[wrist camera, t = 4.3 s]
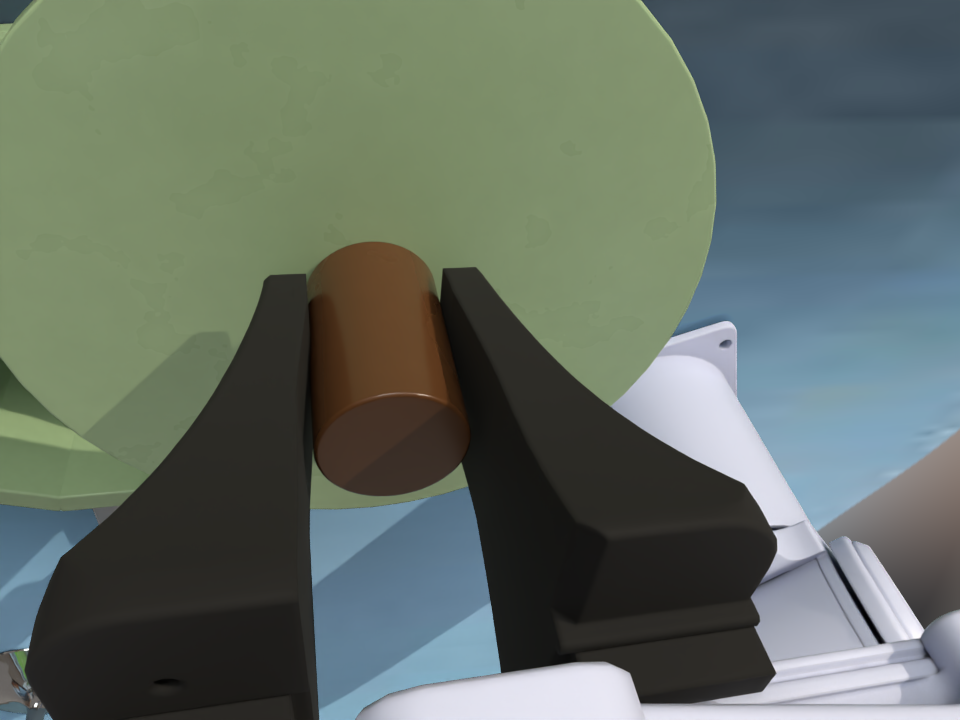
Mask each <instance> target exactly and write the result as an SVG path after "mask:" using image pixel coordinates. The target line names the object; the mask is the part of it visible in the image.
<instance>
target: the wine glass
mask: <svg viewBox="0 0 960 720" xmlns="http://www.w3.org/2000/svg"><path fill="white" fill-rule="evenodd" d="M28 651H29V649H21V650H14V651H9V652H4V653H1V654H0V710H1V711H7V712H14V713H26V720H44V716H45V713H48V712H47V710H46V709H45V707H44V706H43V704H42V703H41V701H40V700H39V698H38V697H37V695H36V694H35V692H34V691H33V689H32V688H31V686H30V685H29V683H28V680H27V677H26V674H25V671H24V669H25V665H26V660H27V655H28Z"/></svg>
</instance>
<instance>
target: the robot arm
mask: <svg viewBox="0 0 960 720" xmlns="http://www.w3.org/2000/svg"><path fill="white" fill-rule="evenodd" d="M440 306H441V310H442V314H443V318H444V322H445V326H446V330H447V334H448V338H449V343H450V347H451V351H452V355H453V359H454V363H455V367H456V371H457V375H458V379H459V384H460V388H461V392H462V396H463V400H464V404H465V408H466V412H467V416H468V420H469V425H470V430H471V441H470V446H469V449H468V451H467V454H466V456H465V457H464V459H463V461H462V462H461V463H462V466H463V470H464V473H465V477H466V480H467V484H468V487H469V490H470V494H471V497H472V502H473V506H474V510H475V514H476V518H477V524H478V529H479V535H480V541H481V546H482V552H483V558H484V564H485V570H486V576H487V582H488V588H489V594H490V600H491V606H492V613H493V620H494V626H495V633H496V640H497V647H498V653H499V660H500V667H501V673H500V674H493V675H486V676H480V677H473V678H466V679H459V680H453V681H446V682H439V683H433V684H426V685H420V686H417V687H413V688H409V689H405V690H402V691H398V692H394V693H390V694H388V695H386V696H384V697H382V698H381V699H379V700H377V701H375V702H374V703H372V704H370V705H368V706H367V707H365V708H364V709H363V710H362V711H361V712H360V713H359V714H358V716H357V718H356V719H355V720H960V610H956V611H952V612H949V613H947V614H945V615H942V616H940V617H938V618H937V619H936V620H934V621H933V622H932V623H931V624H930V625H929V626H928V627H927V628H926V629H925V630H924V629H923V628H922V626H921V624H920V623H919V621H918V620H917V618H916V616H915V615H914V613H913V612H912V610H911V609H910V607H909V606H908V604H907V602H906V601H905V599H904V598H903V596H902V595H901V594H900V592H899V590H898V589H897V587H896V586H895V584H894V583H893V581H892V579H891V578H890V576H889V575H888V573H887V572H886V570H885V569H884V567H883V566H882V564H881V563H880V561H879V560H878V558H877V557H876V555H875V554H874V552H873V551H872V549H871V548H870V547H869V546H868V545H866V544H862V543H859V542H856V541H854V542H851V540H850V539H849V538H848V537H845V536H843V537H840V538H838V539H836V540H834V541H832V542H830V543H829V545H830V547H831V550H832V551H831V550H830V548H829V547H828V546H827V544H826V543H825V542H824V540H823V539H822V538H821V537H820V535H819V534H818V533H817V531H816V530H815V529H814V528H813V526H812V525H811V523H810V521H809V519H808V518H807V516H806V514H805V513H804V511H803V509H802V508H801V506H800V504H799V503H798V501H797V499H796V497H795V496H794V494H793V492H792V491H791V489H790V487H789V486H788V484H787V482H786V481H785V479H784V477H783V475H782V474H781V472H780V470H779V469H778V467H777V465H776V464H775V462H774V460H773V458H772V457H771V455H770V453H769V452H768V450H767V448H766V447H765V445H764V443H763V442H762V440H761V438H760V436H759V435H758V433H757V431H756V430H755V428H754V426H753V425H752V423H751V421H750V419H749V418H748V416H747V414H746V413H745V411H744V409H743V408H742V406H741V404H740V403H739V401H738V399H737V331H736V328H735V327H734V325H733V324H732V323H731V322H729V321H723V322H719V323H716V324H713V325H710V326H706V327H703V328H700V329H697V330H694V331H690V332H687V333H684V334H681V335H678V336H675V337H671V338H670V340H669V341H668V342H667V344H666V345H665V346H664V348H663V349H662V350H661V352H660V353H659V355H658V356H657V357H656V359H655V360H654V361H653V363H652V364H651V365H650V367H649V368H648V369H647V370H646V371H645V372H644V373H643V374H642V376H641V377H640V378H639V379H638V380H637V381H636V382H635V383H634V384H633V385H632V386H631V387H630V389H629V390H628V391H627V392H626V393H625V394H624V395H623V396H622V397H620V398H619V399H618V400H617V401H616V402H615V403H614V404H613V405H611V406H609V405H608V404H606V403H605V402H604V401H602V400H601V399H600V398H599V397H597V396H596V395H595V394H594V393H592V392H591V391H590V390H589V389H588V388H586V387H585V386H584V385H583V384H581V383H580V382H579V381H578V380H577V379H576V378H575V377H574V376H573V375H571V374H570V373H569V372H568V371H567V370H566V369H565V368H564V367H563V366H562V365H561V364H560V363H559V362H558V361H557V360H556V359H555V358H554V357H553V356H552V355H551V354H550V353H549V352H548V351H547V350H546V349H545V348H544V347H543V346H542V345H541V344H540V343H539V342H538V340H537V339H536V338H535V337H534V336H533V335H532V334H531V333H530V332H529V330H528V329H527V328H526V327H525V326H524V325H523V324H522V323H521V322H520V320H519V319H518V318H517V317H516V316H515V314H514V313H513V312H512V311H511V310H510V308H509V307H508V306H507V305H506V304H505V302H504V301H503V300H502V299H501V297H500V296H499V295H498V294H497V292H496V291H495V290H494V288H493V287H492V286H491V285H490V283H489V282H488V281H487V279H486V278H485V277H484V275H483V274H482V273H481V272H480V271H479V270H478V269H477V268H476V267H464V268H443V270H442V283H441V296H440ZM723 341H724V342H723ZM721 342H722V343H721ZM309 363H310V329H309V311H308V295H307V281H306V274H281V275H269V276H268V277H267V278H266V279H265V280H264V282H263V287H262V291H261V295H260V298H259V301H258V304H257V307H256V309H255V312H254V315H253V317H252V320H251V322H250V324H249V327H248V329H247V331H246V333H245V335H244V337H243V339H242V342H241V344H240V346H239V348H238V350H237V352H236V354H235V356H234V358H233V360H232V362H231V363H230V365H229V367H228V369H227V370H226V372H225V374H224V376H223V377H222V379H221V381H220V383H219V384H218V386H217V388H216V389H215V391H214V393H213V394H212V396H211V397H210V399H209V400H208V402H207V404H206V405H205V406H204V408H203V409H202V411H201V412H200V414H199V415H198V417H197V418H196V419H195V421H194V422H193V424H192V425H191V426H190V428H189V429H188V430H187V432H186V433H185V434H184V435H183V437H182V438H181V439H180V440H179V442H178V443H177V444H176V445H175V447H174V448H173V449H172V450H171V452H170V453H169V454H168V455H167V457H166V458H165V459H164V460H163V461H162V462H161V463H160V465H159V466H158V467H157V468H156V469H155V470H154V471H153V472H152V474H151V475H150V476H149V477H148V478H147V479H146V480H145V481H144V482H143V483H142V484H141V485H140V486H139V487H138V488H137V489H136V490H135V491H134V492H133V493H132V494H131V495H130V496H129V497H128V498H127V499H126V500H125V501H124V502H123V503H122V504H121V505H120V506H119V507H118V508H117V509H116V510H115V511H114V512H113V513H112V514H111V515H110V516H109V517H108V518H107V519H105V520H104V521H103V522H102V523H101V524H100V525H98V526H97V527H96V528H95V529H94V530H93V531H91V532H90V533H89V534H88V535H87V536H86V537H84V538H83V539H82V540H81V541H80V542H79V543H78V544H76V545H75V546H74V547H73V548H72V549H71V550H69V551H68V552H67V553H66V554H64V555H63V556H62V557H61V558H60V560H59V562H58V564H57V566H56V569H55V571H54V573H53V575H52V577H51V580H50V582H49V584H48V587H47V589H46V592H45V594H44V597H43V600H42V602H41V605H40V607H39V610H38V613H37V616H36V620H35V624H34V628H33V632H32V637H31V642H30V646H29V651H28V655H27V660H26V665H25V669H24V671H25V674H26V677H27V680H28V683H29V685H30V686H31V688H32V689H33V691H34V692H35V694H36V695H37V697H38V698H39V700H40V701H41V703H42V704H43V706H44V707H45V709H46V710H47V712H48V713H49V715H50V716H51V718H52V719H53V720H319V709H318V691H317V672H316V653H315V634H314V615H313V595H312V575H311V555H310V497H311V478H312V458H313V438H312V418H311V399H310V379H309Z"/></svg>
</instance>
